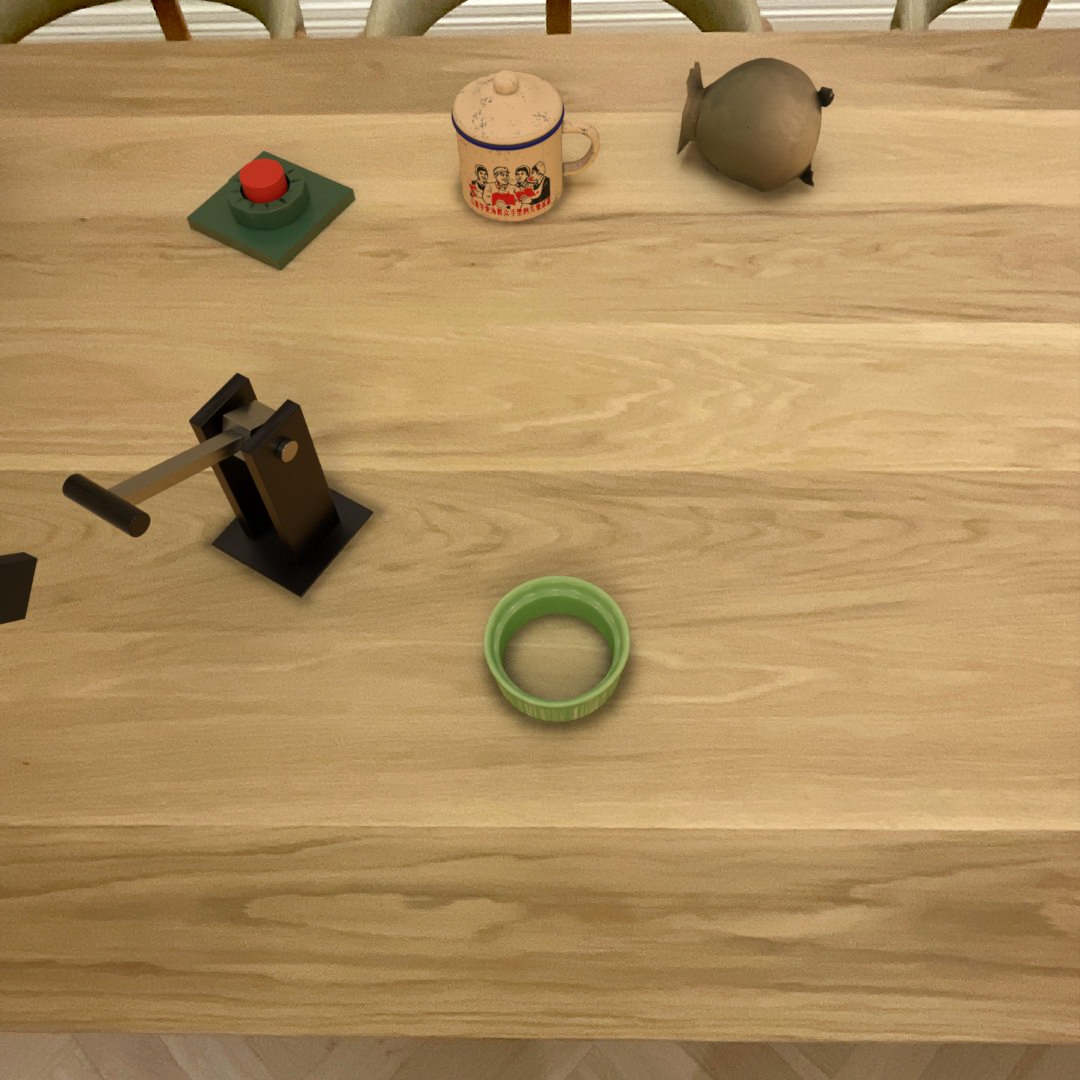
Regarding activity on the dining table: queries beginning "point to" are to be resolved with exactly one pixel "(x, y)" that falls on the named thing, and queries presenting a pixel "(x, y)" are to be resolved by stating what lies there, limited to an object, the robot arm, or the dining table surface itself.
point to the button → (263, 181)
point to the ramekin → (556, 599)
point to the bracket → (278, 494)
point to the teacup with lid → (515, 145)
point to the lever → (165, 472)
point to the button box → (273, 214)
